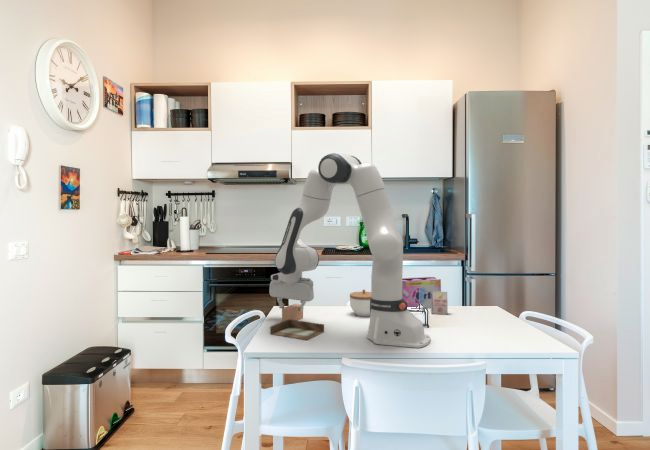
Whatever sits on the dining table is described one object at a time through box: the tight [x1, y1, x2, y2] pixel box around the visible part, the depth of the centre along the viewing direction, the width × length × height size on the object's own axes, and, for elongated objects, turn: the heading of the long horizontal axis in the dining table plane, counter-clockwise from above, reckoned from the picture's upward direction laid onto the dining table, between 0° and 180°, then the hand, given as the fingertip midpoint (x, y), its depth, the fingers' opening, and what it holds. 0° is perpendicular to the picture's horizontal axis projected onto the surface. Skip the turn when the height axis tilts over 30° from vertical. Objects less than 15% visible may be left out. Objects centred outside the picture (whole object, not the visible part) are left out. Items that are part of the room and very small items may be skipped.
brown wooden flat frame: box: [270, 319, 325, 341], centre depth 153 cm, size 16×12×3 cm
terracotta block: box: [281, 303, 304, 322], centre depth 172 cm, size 4×10×6 cm, turn 151°
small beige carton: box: [430, 291, 449, 316], centre depth 184 cm, size 4×7×10 cm, turn 79°
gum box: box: [402, 276, 442, 309], centre depth 198 cm, size 24×8×14 cm, turn 104°
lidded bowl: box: [349, 289, 371, 317], centre depth 182 cm, size 13×13×11 cm
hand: (291, 309), depth 172 cm, fingers open, 8 cm apart
